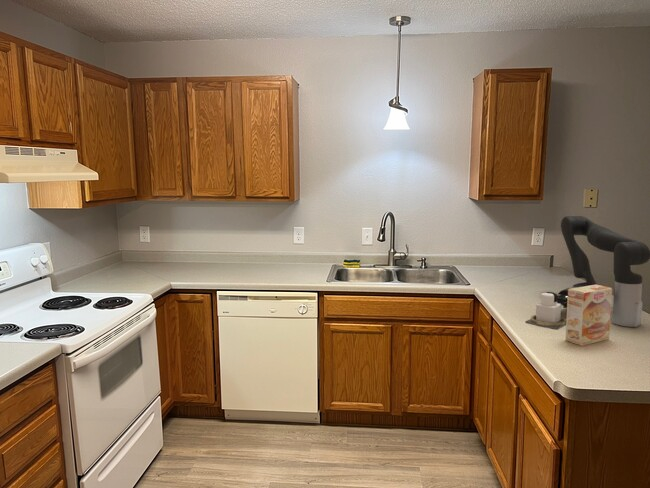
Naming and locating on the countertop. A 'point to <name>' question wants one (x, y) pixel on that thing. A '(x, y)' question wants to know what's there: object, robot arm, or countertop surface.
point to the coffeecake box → (588, 314)
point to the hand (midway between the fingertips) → (553, 303)
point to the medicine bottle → (548, 308)
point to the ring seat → (548, 325)
